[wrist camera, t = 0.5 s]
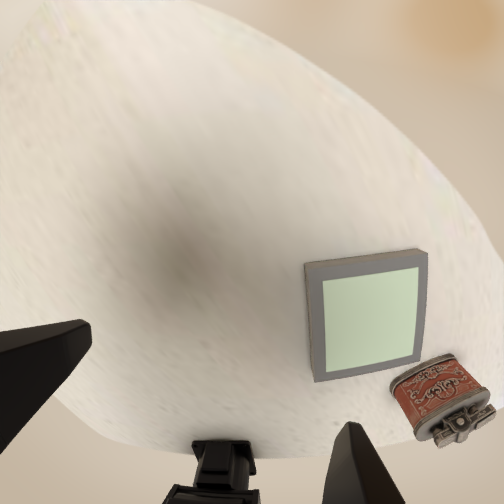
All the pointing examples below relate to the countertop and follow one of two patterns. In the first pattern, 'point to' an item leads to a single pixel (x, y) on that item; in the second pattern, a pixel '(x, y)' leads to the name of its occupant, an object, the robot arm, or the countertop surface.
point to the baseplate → (366, 312)
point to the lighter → (442, 400)
